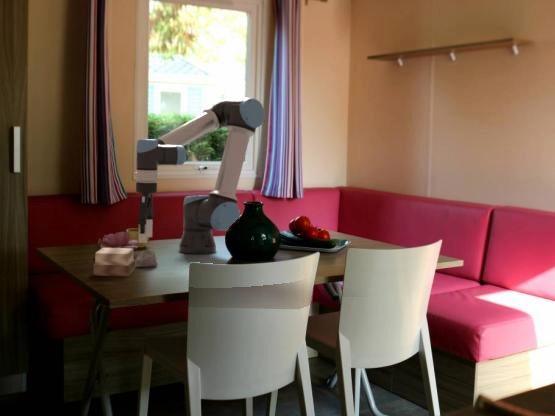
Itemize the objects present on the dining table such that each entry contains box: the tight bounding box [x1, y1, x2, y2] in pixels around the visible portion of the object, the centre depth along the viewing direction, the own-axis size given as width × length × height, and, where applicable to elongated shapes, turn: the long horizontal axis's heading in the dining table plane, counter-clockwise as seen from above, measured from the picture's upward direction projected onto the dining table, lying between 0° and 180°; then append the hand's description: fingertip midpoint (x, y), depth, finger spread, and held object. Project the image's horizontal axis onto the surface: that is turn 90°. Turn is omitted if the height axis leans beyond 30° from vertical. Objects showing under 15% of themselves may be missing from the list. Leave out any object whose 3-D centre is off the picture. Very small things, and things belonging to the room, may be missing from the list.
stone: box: [135, 248, 158, 268], centre depth 267 cm, size 8×10×6 cm
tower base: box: [93, 258, 136, 277], centre depth 254 cm, size 12×12×4 cm
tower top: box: [94, 248, 135, 266], centre depth 254 cm, size 11×11×4 cm
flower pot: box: [125, 227, 150, 249], centre depth 306 cm, size 10×10×7 cm
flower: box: [97, 231, 138, 251], centre depth 283 cm, size 15×15×10 cm
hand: (145, 239), depth 266 cm, fingers open, 13 cm apart
